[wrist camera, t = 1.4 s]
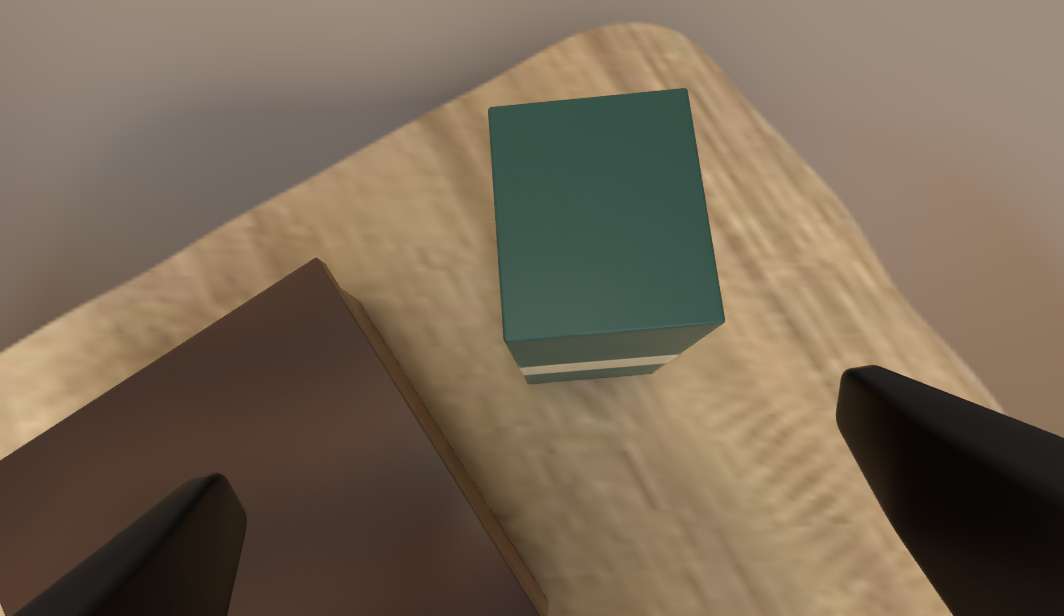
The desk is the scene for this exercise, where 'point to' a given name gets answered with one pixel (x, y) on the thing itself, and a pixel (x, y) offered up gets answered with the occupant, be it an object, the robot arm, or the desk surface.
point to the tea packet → (601, 235)
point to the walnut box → (274, 470)
